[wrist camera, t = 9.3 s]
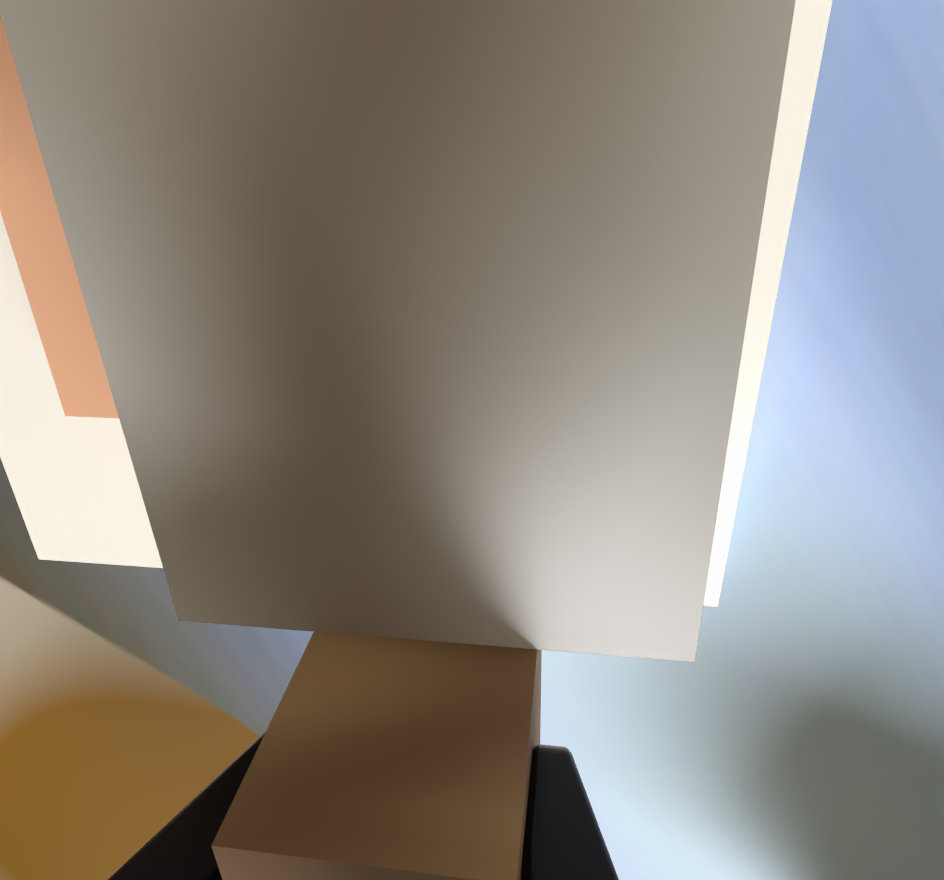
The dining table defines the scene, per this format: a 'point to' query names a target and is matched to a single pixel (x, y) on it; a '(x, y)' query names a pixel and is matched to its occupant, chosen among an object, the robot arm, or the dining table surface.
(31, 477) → the board
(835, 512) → the dining table surface
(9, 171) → the tile
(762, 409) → the dining table surface
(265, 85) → the two-tone stepped block
